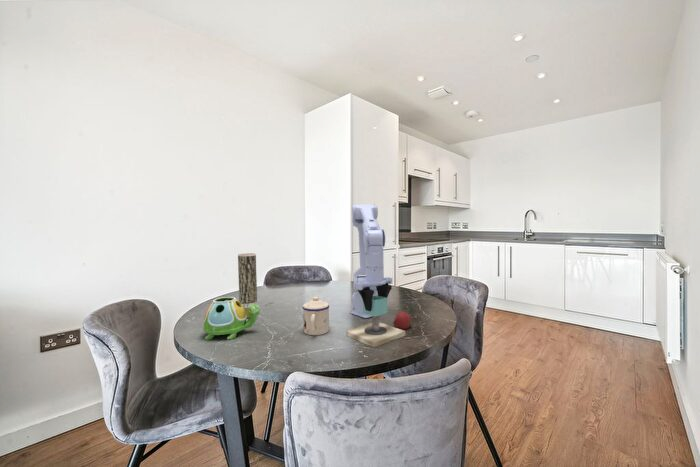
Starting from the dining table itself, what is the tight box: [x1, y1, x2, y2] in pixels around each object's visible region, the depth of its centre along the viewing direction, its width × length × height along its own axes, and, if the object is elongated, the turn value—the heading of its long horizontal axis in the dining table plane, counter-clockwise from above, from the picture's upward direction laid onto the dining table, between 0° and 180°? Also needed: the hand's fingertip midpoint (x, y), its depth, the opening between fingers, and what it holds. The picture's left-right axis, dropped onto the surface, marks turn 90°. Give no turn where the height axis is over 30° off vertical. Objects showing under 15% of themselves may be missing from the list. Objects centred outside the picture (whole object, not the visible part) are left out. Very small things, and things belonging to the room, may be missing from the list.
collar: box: [363, 294, 388, 318], centre depth 97 cm, size 6×6×5 cm
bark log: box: [237, 252, 258, 319], centre depth 120 cm, size 7×7×25 cm
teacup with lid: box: [302, 296, 330, 336], centre depth 100 cm, size 12×9×12 cm
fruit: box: [392, 311, 418, 330], centre depth 104 cm, size 6×6×8 cm
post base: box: [346, 317, 406, 348], centre depth 97 cm, size 13×14×6 cm
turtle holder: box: [202, 296, 261, 341], centre depth 101 cm, size 12×18×12 cm
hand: (375, 308), depth 97 cm, fingers closed on collar, 6 cm apart
